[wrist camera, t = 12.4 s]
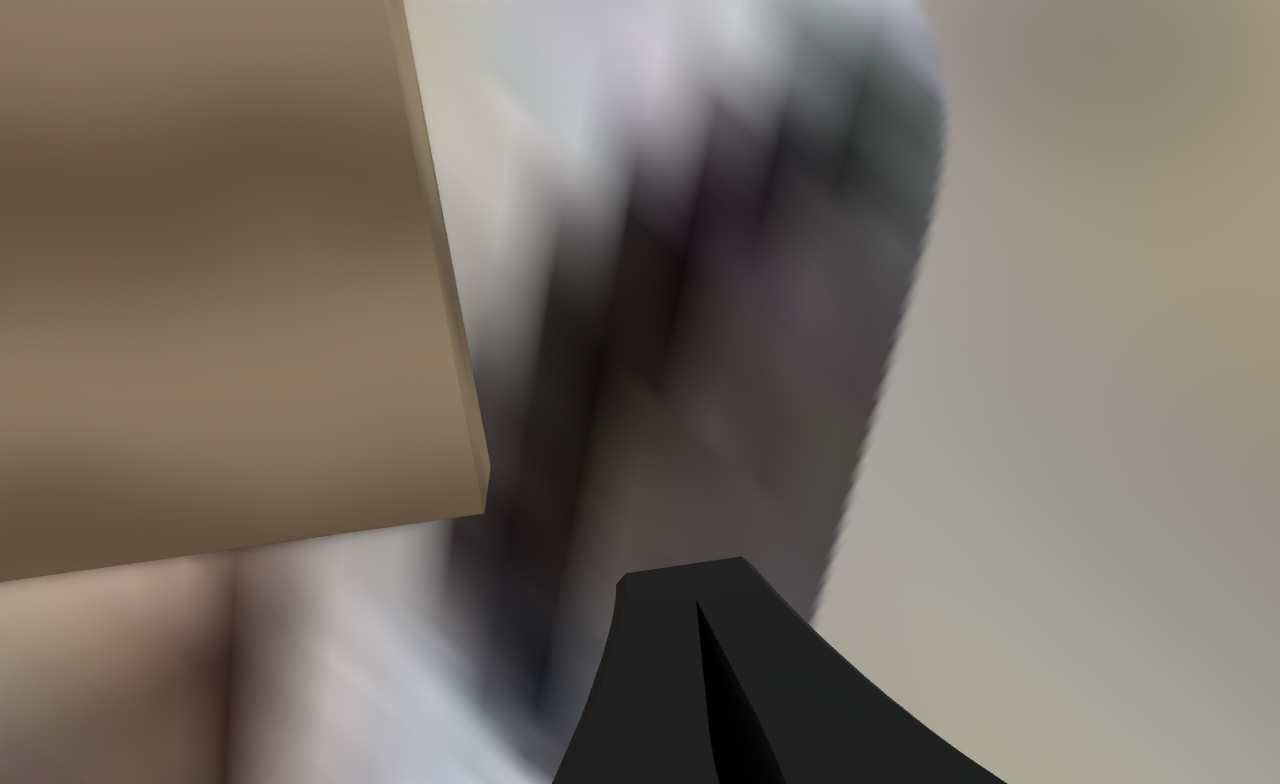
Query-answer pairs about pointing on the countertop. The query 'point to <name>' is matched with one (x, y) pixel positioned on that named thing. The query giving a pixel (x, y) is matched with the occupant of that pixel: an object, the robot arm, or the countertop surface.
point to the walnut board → (221, 283)
